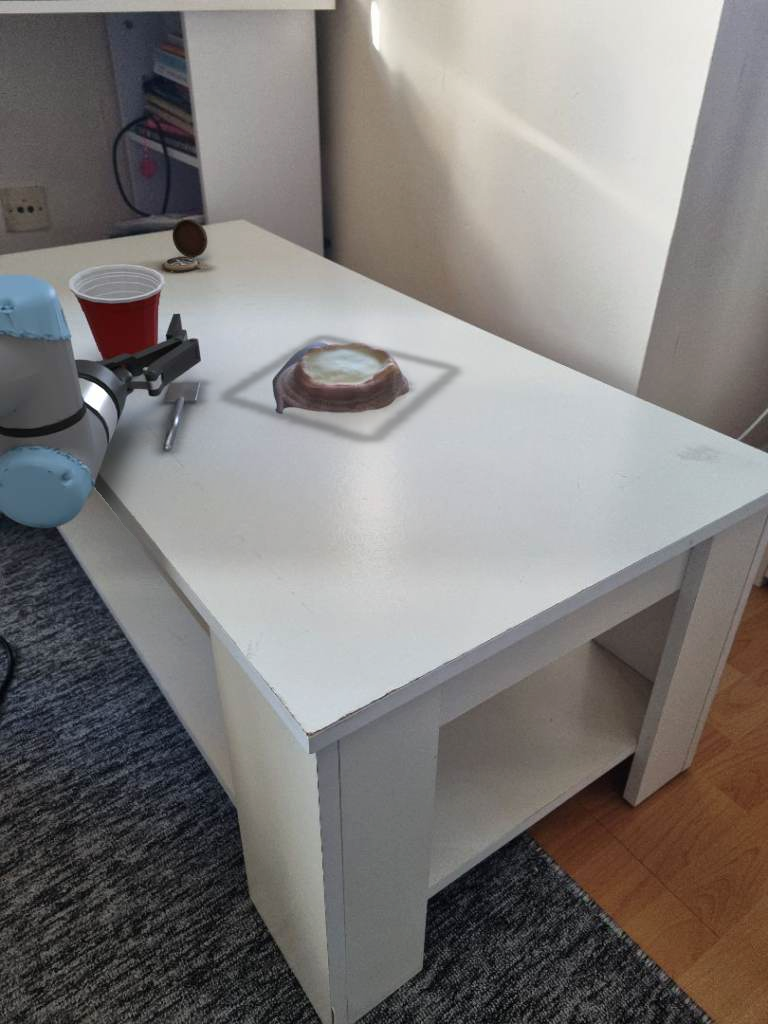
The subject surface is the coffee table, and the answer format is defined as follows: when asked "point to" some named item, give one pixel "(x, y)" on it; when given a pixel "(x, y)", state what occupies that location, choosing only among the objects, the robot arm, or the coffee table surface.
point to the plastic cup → (120, 306)
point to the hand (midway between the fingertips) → (119, 326)
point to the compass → (187, 246)
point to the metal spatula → (178, 407)
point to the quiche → (339, 379)
